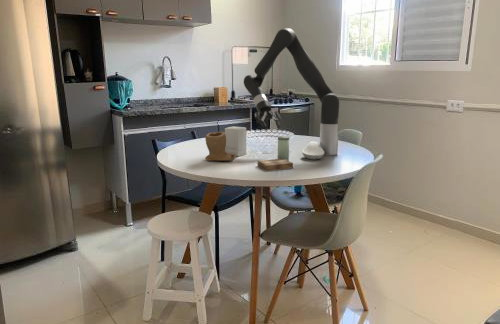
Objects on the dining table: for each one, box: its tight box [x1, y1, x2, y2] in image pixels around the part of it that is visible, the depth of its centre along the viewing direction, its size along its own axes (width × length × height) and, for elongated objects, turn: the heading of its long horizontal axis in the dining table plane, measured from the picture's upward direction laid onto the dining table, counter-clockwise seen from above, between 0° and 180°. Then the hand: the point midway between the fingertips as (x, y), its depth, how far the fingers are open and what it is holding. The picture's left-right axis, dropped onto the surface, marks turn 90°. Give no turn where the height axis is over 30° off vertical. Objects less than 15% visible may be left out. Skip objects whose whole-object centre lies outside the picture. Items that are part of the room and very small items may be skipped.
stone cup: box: [204, 131, 237, 162], centre depth 193 cm, size 15×12×15 cm
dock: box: [257, 158, 294, 172], centre depth 183 cm, size 14×10×3 cm
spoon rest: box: [301, 141, 325, 160], centre depth 206 cm, size 24×12×7 cm, turn 171°
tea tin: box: [277, 135, 290, 161], centre depth 195 cm, size 6×6×12 cm
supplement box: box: [224, 125, 247, 157], centre depth 208 cm, size 9×9×15 cm
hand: (272, 127), depth 203 cm, fingers open, 8 cm apart
